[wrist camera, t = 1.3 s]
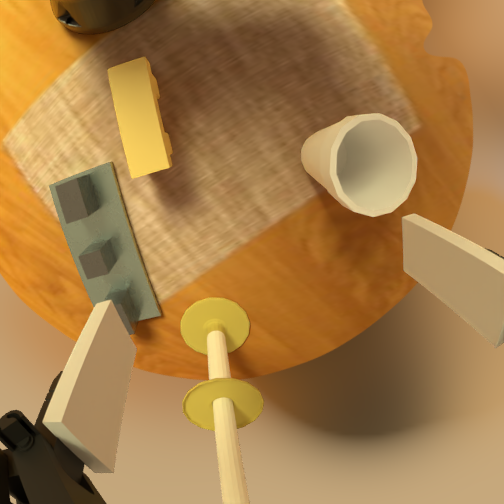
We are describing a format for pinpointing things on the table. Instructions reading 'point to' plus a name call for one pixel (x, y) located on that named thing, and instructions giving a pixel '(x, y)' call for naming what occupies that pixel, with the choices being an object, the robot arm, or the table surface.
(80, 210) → the rail
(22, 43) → the table surface
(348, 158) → the foam cup
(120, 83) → the yellow arch-shaped block
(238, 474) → the candle
